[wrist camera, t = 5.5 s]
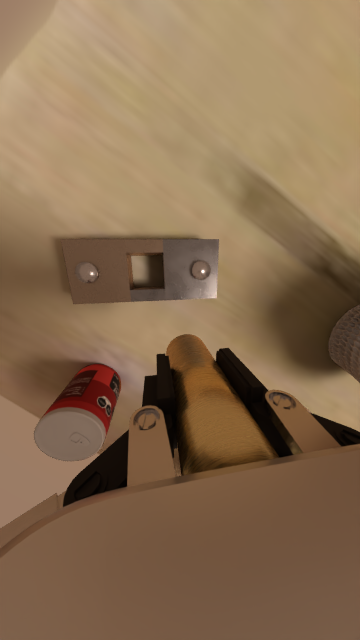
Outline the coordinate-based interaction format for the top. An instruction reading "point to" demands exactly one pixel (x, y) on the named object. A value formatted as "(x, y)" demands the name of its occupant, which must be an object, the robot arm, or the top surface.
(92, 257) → the bolted slotted plate
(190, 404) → the pin
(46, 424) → the canned food
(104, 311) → the top surface
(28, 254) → the top surface
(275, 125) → the top surface
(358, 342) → the vase
